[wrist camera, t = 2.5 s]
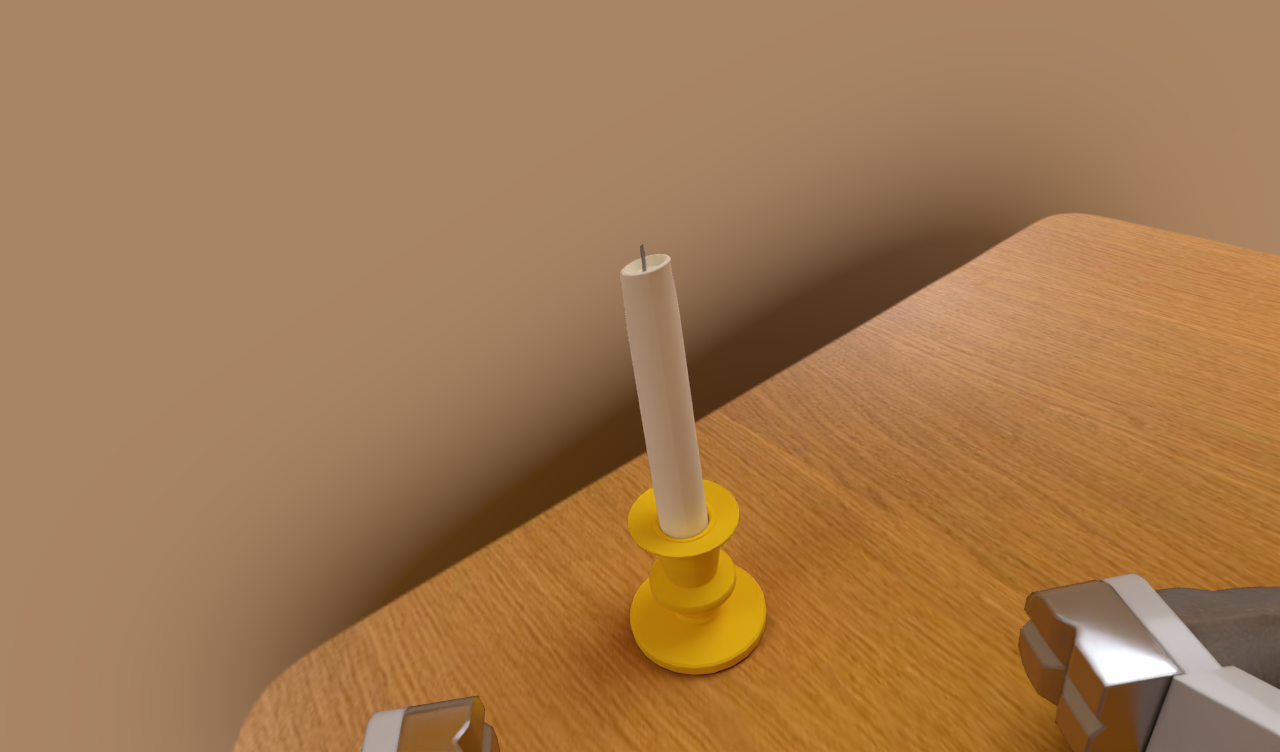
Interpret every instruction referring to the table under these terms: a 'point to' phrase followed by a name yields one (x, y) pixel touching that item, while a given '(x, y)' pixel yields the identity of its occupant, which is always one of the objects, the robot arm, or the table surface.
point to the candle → (681, 502)
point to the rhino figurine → (1234, 626)
